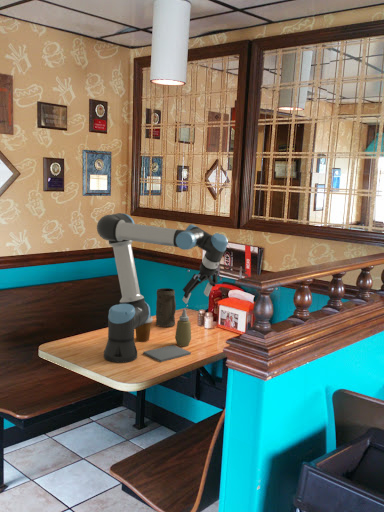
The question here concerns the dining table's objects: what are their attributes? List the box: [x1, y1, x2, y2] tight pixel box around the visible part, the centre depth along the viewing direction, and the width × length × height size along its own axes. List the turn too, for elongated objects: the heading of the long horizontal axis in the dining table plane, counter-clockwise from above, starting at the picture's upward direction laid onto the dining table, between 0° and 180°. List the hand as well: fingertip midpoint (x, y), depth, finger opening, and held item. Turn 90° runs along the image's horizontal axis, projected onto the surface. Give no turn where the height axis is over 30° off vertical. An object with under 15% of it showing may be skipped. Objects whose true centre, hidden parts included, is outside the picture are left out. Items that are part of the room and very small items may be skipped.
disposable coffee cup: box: [134, 315, 154, 343], centre depth 266 cm, size 10×10×12 cm
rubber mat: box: [142, 344, 192, 363], centre depth 248 cm, size 18×13×1 cm
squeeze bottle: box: [174, 308, 192, 347], centre depth 261 cm, size 8×8×18 cm
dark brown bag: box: [155, 287, 177, 328], centre depth 291 cm, size 15×11×20 cm
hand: (195, 298), depth 251 cm, fingers open, 13 cm apart
